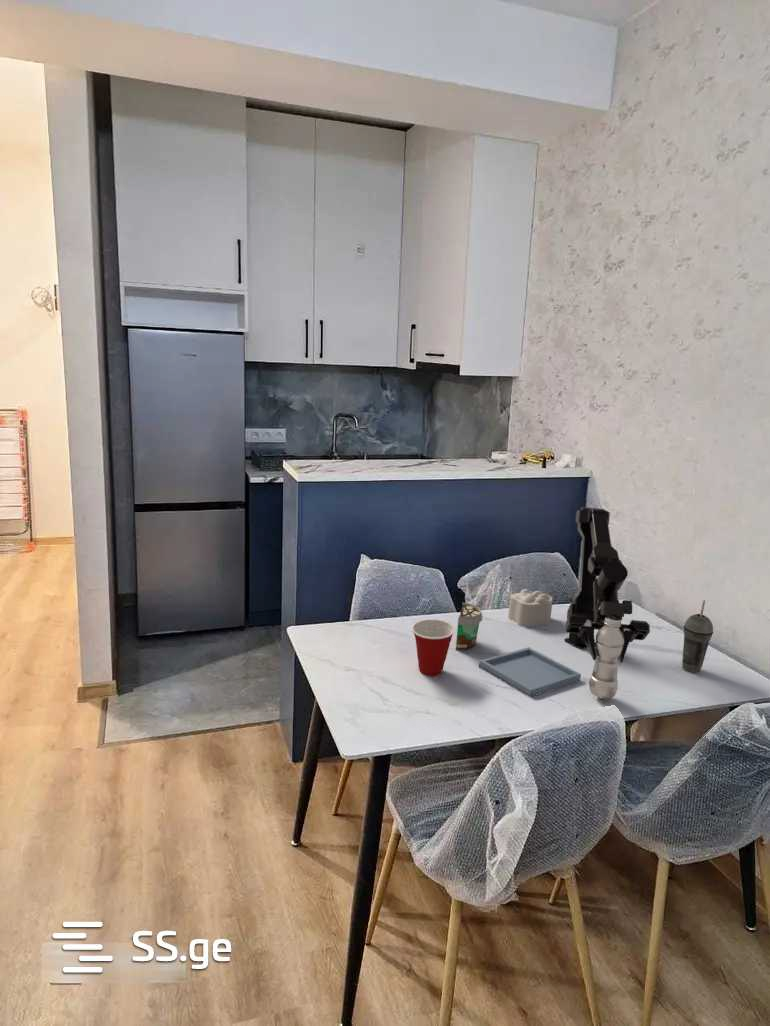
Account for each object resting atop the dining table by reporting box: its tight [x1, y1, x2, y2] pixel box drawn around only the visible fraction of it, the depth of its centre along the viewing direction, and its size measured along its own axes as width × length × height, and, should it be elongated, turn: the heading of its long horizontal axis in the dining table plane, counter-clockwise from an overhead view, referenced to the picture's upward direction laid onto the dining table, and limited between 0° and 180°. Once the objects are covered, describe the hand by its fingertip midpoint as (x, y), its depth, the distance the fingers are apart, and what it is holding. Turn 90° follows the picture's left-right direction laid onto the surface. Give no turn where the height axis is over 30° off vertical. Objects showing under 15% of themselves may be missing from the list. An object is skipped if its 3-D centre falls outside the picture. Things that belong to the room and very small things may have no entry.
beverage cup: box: [681, 600, 714, 674], centre depth 184 cm, size 7×7×20 cm
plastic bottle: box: [588, 615, 624, 700], centre depth 165 cm, size 6×7×20 cm
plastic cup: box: [411, 618, 456, 677], centre depth 174 cm, size 11×11×12 cm
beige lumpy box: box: [507, 588, 554, 628], centre depth 214 cm, size 10×13×9 cm
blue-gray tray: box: [478, 646, 582, 698], centre depth 178 cm, size 18×18×2 cm
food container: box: [455, 602, 483, 651], centre depth 192 cm, size 12×6×10 cm, turn 168°
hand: (608, 661), depth 163 cm, fingers closed on plastic bottle, 6 cm apart
